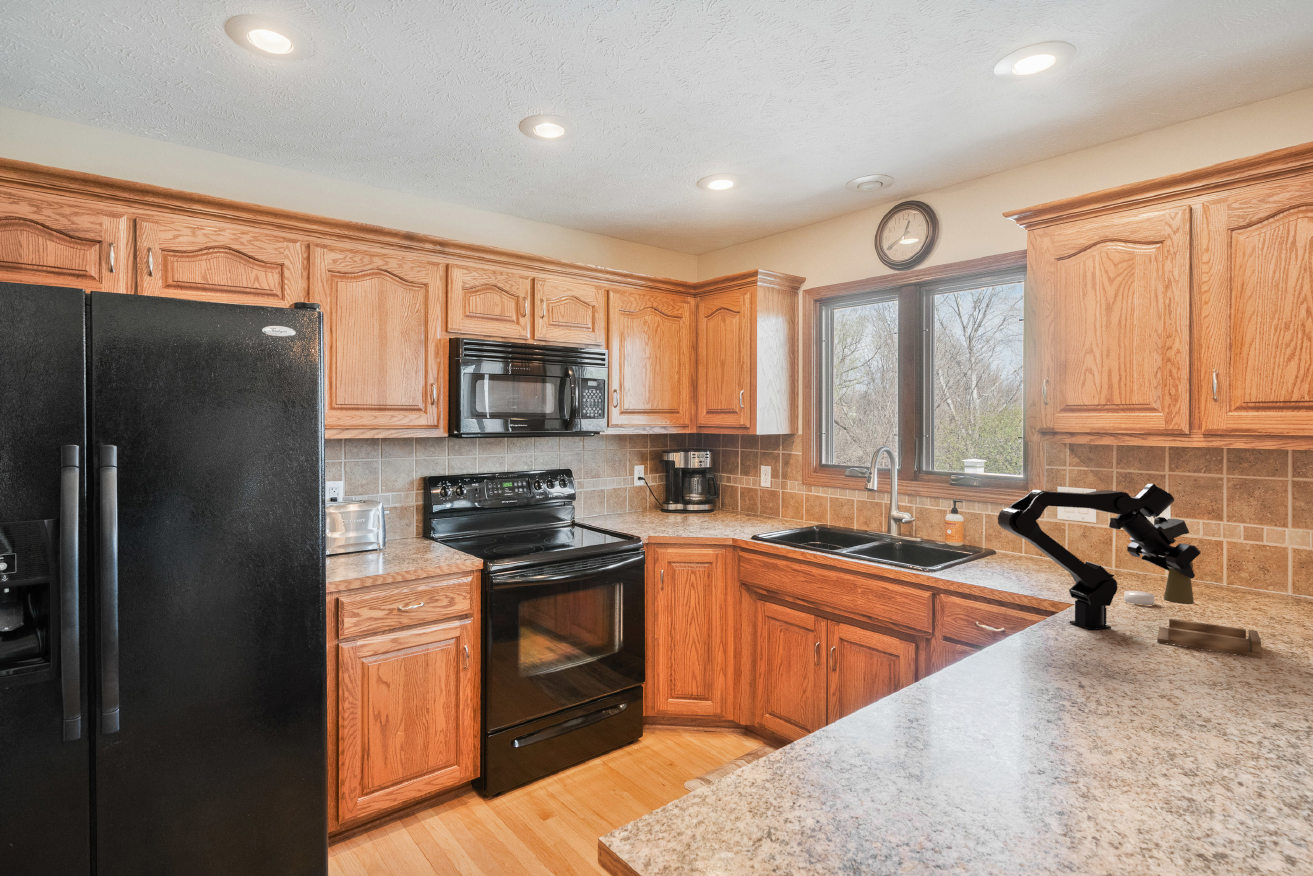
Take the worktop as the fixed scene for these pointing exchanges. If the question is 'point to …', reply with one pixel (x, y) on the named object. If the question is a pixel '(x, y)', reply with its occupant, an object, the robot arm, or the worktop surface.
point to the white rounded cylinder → (1139, 597)
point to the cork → (1178, 588)
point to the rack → (1211, 638)
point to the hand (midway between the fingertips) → (1185, 575)
